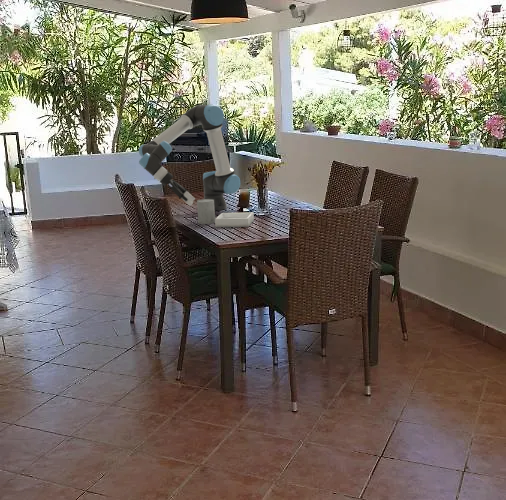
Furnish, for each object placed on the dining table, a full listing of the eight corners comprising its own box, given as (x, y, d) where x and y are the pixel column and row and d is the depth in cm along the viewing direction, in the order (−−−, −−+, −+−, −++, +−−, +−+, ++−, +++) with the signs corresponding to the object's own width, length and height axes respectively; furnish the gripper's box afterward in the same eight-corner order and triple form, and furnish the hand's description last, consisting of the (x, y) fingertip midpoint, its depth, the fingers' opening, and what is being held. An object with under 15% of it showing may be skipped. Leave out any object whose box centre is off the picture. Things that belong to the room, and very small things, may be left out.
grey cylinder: (200, 224, 388) (198, 202, 385) (196, 221, 397) (195, 200, 394) (217, 223, 390) (215, 200, 388) (213, 220, 399) (212, 198, 397)
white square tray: (222, 220, 396) (221, 212, 395) (253, 220, 393) (253, 212, 392) (215, 227, 378) (215, 218, 377) (248, 226, 375) (248, 218, 374)
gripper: (161, 178, 400) (189, 203, 403) (156, 184, 375) (186, 211, 379) (170, 168, 398) (198, 194, 402) (165, 174, 374) (195, 200, 377)
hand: (192, 202), depth 390 cm, fingers open, 13 cm apart
